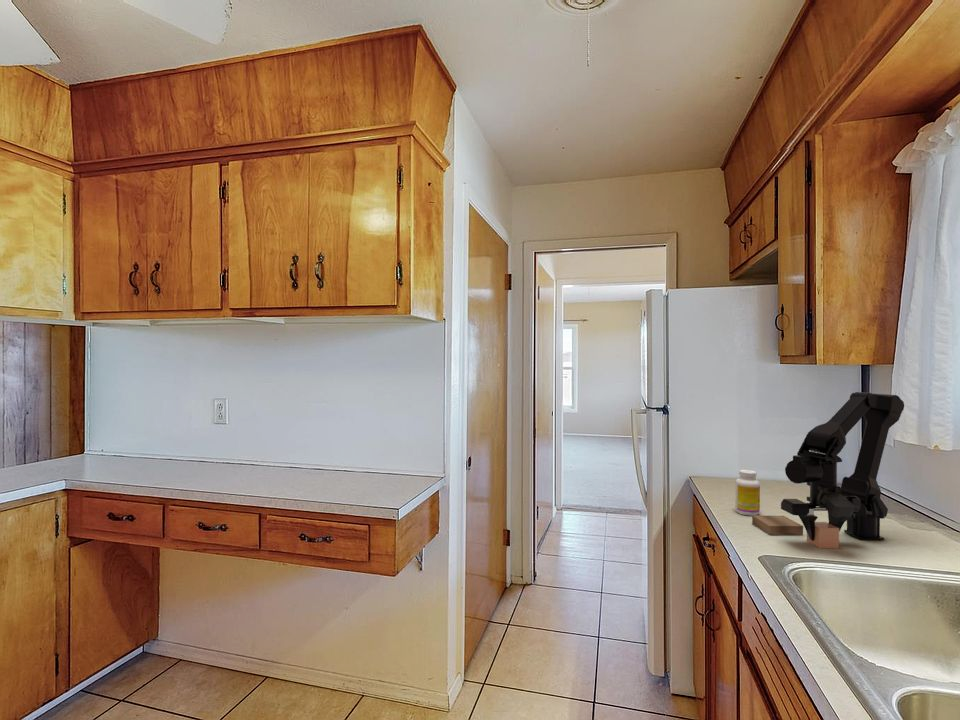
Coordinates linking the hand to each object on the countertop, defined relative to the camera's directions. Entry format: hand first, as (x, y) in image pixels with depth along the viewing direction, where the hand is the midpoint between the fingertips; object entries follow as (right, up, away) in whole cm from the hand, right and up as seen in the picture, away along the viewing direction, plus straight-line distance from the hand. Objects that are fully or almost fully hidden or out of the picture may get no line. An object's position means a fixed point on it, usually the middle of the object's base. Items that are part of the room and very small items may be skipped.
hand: (822, 540), depth 133 cm
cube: (0, -1, 0) cm, 1 cm away
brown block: (-5, -1, +11) cm, 12 cm away
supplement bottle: (-6, -1, +26) cm, 27 cm away
